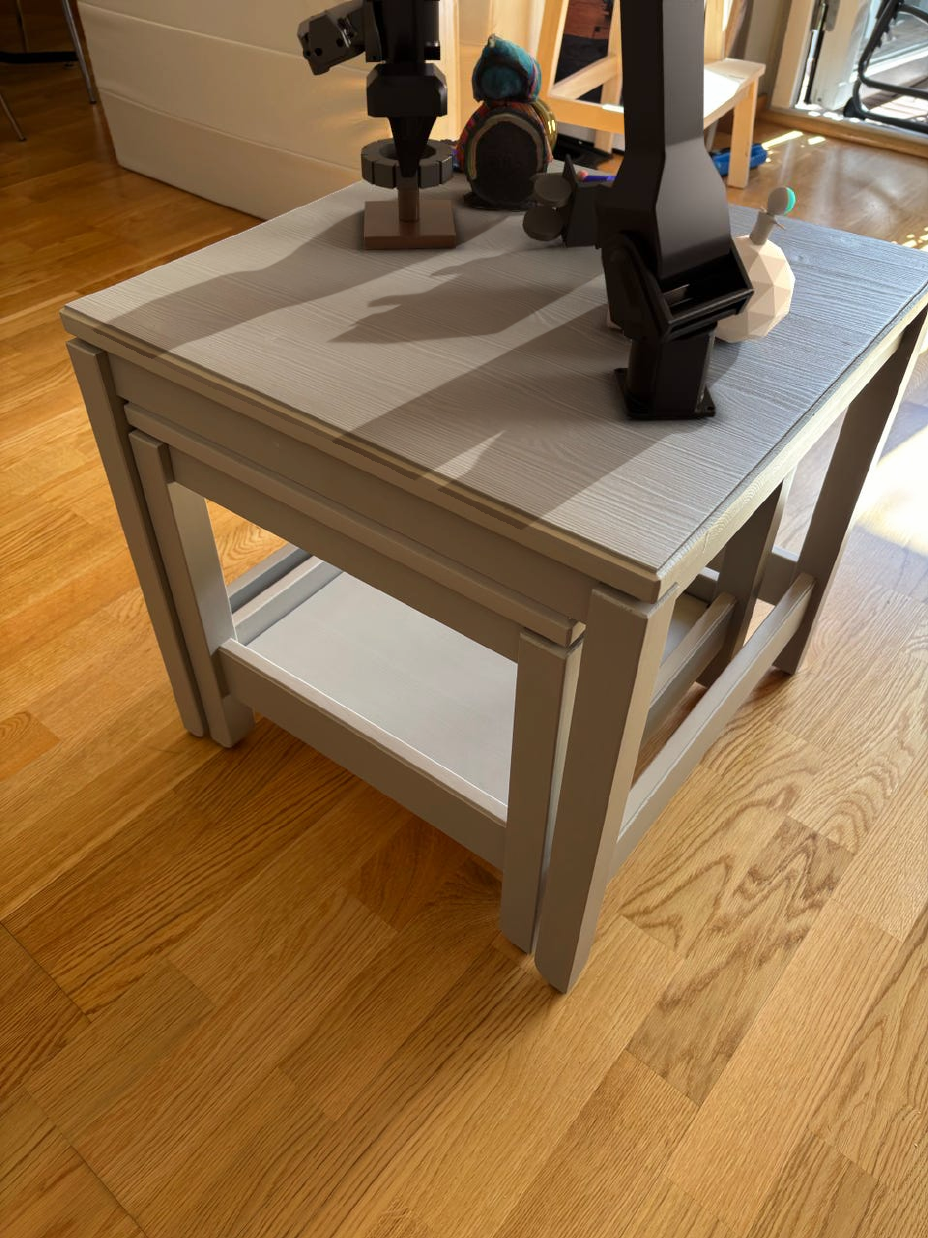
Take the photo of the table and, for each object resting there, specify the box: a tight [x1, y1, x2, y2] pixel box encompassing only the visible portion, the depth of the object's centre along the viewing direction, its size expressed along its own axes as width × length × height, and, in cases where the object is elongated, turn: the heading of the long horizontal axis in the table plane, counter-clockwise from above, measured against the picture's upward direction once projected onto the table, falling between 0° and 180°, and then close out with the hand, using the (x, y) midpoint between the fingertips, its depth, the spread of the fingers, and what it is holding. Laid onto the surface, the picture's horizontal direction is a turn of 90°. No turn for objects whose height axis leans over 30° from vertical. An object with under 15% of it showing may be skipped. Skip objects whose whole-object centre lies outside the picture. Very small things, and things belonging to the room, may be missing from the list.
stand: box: [363, 187, 457, 250], centre depth 90 cm, size 8×8×6 cm
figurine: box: [456, 32, 554, 212], centre depth 93 cm, size 10×7×15 cm
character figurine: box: [521, 154, 616, 249], centre depth 89 cm, size 8×7×15 cm
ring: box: [360, 137, 454, 191], centre depth 88 cm, size 8×8×2 cm
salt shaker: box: [527, 96, 558, 153], centre depth 103 cm, size 7×7×10 cm
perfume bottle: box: [715, 185, 796, 344], centre depth 74 cm, size 8×8×12 cm
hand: (408, 172), depth 86 cm, fingers closed on ring, 2 cm apart
